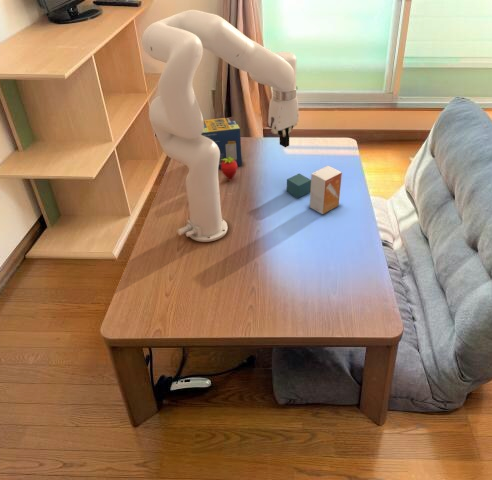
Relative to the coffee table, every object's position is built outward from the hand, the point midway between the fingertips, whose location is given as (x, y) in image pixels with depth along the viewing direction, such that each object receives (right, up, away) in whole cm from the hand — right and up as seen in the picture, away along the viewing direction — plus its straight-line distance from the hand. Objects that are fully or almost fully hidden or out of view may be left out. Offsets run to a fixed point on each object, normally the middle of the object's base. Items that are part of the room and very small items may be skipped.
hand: (284, 145), depth 167 cm
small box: (+13, -21, -3) cm, 25 cm away
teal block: (+5, -16, +4) cm, 17 cm away
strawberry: (-20, -11, +10) cm, 25 cm away
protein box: (-25, -3, +21) cm, 32 cm away
